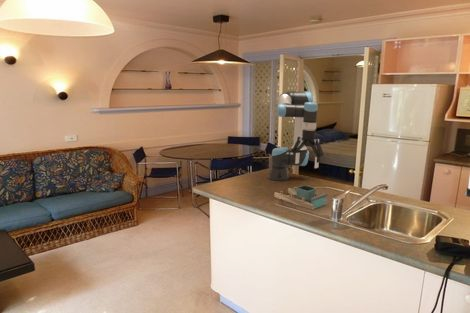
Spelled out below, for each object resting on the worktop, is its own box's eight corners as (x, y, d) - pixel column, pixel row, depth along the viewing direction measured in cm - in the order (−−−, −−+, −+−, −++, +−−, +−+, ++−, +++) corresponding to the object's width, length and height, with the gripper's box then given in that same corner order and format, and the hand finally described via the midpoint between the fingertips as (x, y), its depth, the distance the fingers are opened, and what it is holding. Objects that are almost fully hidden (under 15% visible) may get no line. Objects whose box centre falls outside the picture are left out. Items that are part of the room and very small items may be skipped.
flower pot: (315, 202, 201) (316, 188, 199) (307, 205, 194) (308, 191, 193) (302, 198, 207) (303, 184, 205) (294, 202, 200) (295, 187, 199)
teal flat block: (323, 203, 200) (324, 193, 198) (326, 204, 198) (327, 194, 197) (309, 208, 190) (309, 198, 188) (312, 209, 188) (312, 199, 187)
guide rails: (289, 192, 218) (289, 185, 217) (326, 204, 198) (327, 196, 197) (274, 197, 208) (274, 189, 207) (312, 209, 188) (312, 201, 187)
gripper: (287, 127, 199) (285, 162, 203) (324, 132, 181) (321, 170, 185) (295, 126, 204) (293, 160, 208) (331, 131, 186) (328, 168, 190)
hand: (306, 165), depth 197 cm, fingers open, 13 cm apart
